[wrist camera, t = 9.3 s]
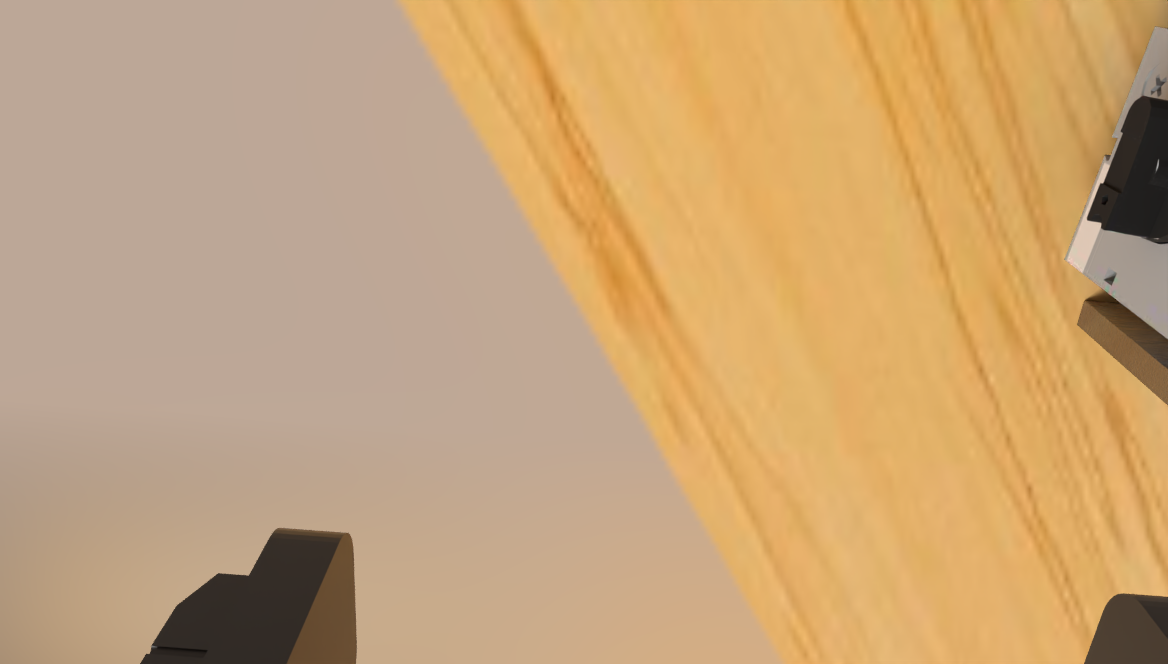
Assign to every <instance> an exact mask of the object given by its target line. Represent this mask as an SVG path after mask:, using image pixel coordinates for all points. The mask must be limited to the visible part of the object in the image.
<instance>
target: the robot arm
mask: <svg viewBox="0 0 1168 664" xmlns="http://www.w3.org/2000/svg"><path fill="white" fill-rule="evenodd" d="M354 584H355V582H354V553H353V543H352V539H351V536H350V534H349V533H340V532H327V531H312V530H300V529H286V528H278V529H276V530H275V531H274V532H273V534H272V535H271V536H270V538H269V540H268V542H267V544H266V545H265V547H264V549H263V551H262V553H261V554H260V556H259V558H258V560H257V562H256V564H255V565H254V568H253V569H252V571H251V573H250V575H249V576H246V575H233V574H220V573H218V574H217V575H216V576H214V577H213V578H212V579H210V580H209V581H208V582H207V583H205V584H204V585H203V586H201V587H200V588H199V589H198V590H196V591H195V592H194V593H192V594H191V595H190V596H189V597H187V598H186V599H185V600H183V602H181V603H180V604H178V605H177V606H176V608H175V609H174V611H173V612H172V614H171V616H170V617H169V619H168V620H167V622H166V623H165V625H164V627H163V628H162V630H161V631H160V633H159V635H158V636H157V638H156V639H155V641H154V643H153V644H152V647H151V652H150V654H146V655H145V657H144V658H143V660H142V662H141V663H140V664H356V653H357V645H356V644H357V640H356V613H355V612H356V611H355V585H354ZM1084 664H1168V597H1162V596H1149V595H1135V594H1118V595H1116V596H1114V597H1113V598H1111V599H1110V600H1109V602H1108V603H1107V605H1106V606H1105V609H1104V611H1103V613H1102V616H1101V619H1100V622H1099V624H1098V627H1097V630H1096V633H1095V635H1094V638H1093V641H1092V644H1091V646H1090V649H1089V652H1088V655H1087V657H1086V660H1085V663H1084Z"/></svg>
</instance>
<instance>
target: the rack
mask: <svg viewBox="0 0 1168 664" xmlns="http://www.w3.org/2000/svg"><path fill="white" fill-rule="evenodd" d="M1077 325H1078V326H1079V327H1080V328H1081V329H1082V330H1084V331H1085V332H1086V333H1087V334H1088V335H1089V336H1090V337H1091V338H1093V339H1094V340H1095V341H1096V342H1097V343H1098V344H1099V345H1100V346H1102V347H1103V348H1104V349H1105V350H1106V351H1107V352H1108V353H1109V354H1111V355H1112V356H1113V357H1114V358H1115V359H1116V360H1117V361H1118V362H1120V363H1121V364H1122V365H1123V366H1124V367H1125V368H1126V369H1127V370H1129V371H1130V372H1131V373H1132V374H1133V375H1134V376H1135V377H1137V378H1138V379H1139V380H1140V381H1141V382H1142V383H1143V384H1144V385H1146V386H1147V387H1148V388H1149V389H1150V390H1151V391H1152V392H1153V393H1155V394H1156V395H1157V396H1158V397H1159V398H1160V399H1161V400H1162V401H1164V402H1165V403H1166V404H1167V405H1168V339H1167V338H1165V337H1164V336H1163V335H1162V334H1160V333H1159V332H1158V331H1156V330H1155V329H1154V328H1153V327H1151V326H1150V325H1149V324H1147V323H1146V322H1145V321H1143V320H1142V319H1141V318H1140V317H1138V316H1137V315H1136V314H1134V313H1133V312H1132V311H1130V310H1129V309H1128V308H1127V307H1125V306H1124V305H1123V304H1121V303H1108V302H1095V301H1084V304H1083V308H1082V311H1081V314H1080V317H1079V321H1078V324H1077Z"/></svg>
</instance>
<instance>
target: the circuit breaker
mask: <svg viewBox="0 0 1168 664" xmlns="http://www.w3.org/2000/svg"><path fill="white" fill-rule="evenodd" d="M1112 137H1113V138H1118V139H1117V141H1116V144H1115V146H1114V149H1113V151H1112V154H1111V155H1105V156H1104V159H1103V162H1102V164H1101V167H1100V169H1099V172H1098V174H1097V177H1096V180H1095V182H1094V185H1093V187H1092V190H1091V192H1090V195H1089V198H1088V200H1087V203H1086V205H1085V208H1084V210H1083V213H1082V216H1081V218H1080V221H1079V223H1078V226H1077V228H1076V231H1075V234H1074V236H1073V239H1072V241H1071V244H1070V246H1069V249H1068V251H1067V254H1066V257H1065V259H1064V260H1066V261H1067V262H1068V263H1070V264H1071V265H1072V266H1073V267H1075V268H1076V269H1077V270H1079V271H1080V272H1081V273H1083V274H1084V275H1085V276H1086V277H1088V278H1089V279H1090V280H1092V281H1093V282H1094V283H1095V284H1097V285H1098V286H1099V287H1101V288H1102V289H1103V290H1105V291H1106V292H1107V293H1108V294H1110V295H1111V296H1112V297H1114V298H1115V299H1116V300H1118V301H1119V302H1120V303H1121V304H1123V305H1124V306H1125V307H1127V308H1128V309H1129V310H1130V311H1132V312H1133V313H1134V314H1136V315H1137V316H1138V317H1140V318H1141V319H1142V320H1143V321H1145V322H1146V323H1147V324H1149V325H1150V326H1151V327H1153V328H1154V329H1155V330H1156V331H1158V332H1159V333H1160V334H1162V335H1163V336H1164V337H1165V338H1167V339H1168V29H1167V28H1162V27H1156V26H1155V28H1154V31H1153V33H1152V36H1151V39H1150V41H1149V44H1148V46H1147V49H1146V51H1145V54H1144V56H1143V59H1142V62H1141V64H1140V67H1139V69H1138V72H1137V74H1136V77H1135V80H1134V82H1133V85H1132V87H1131V90H1130V92H1129V95H1128V97H1127V100H1126V103H1125V105H1124V108H1123V110H1122V113H1121V115H1120V118H1119V121H1118V123H1117V126H1116V128H1115V131H1114V133H1113V136H1112Z"/></svg>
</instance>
